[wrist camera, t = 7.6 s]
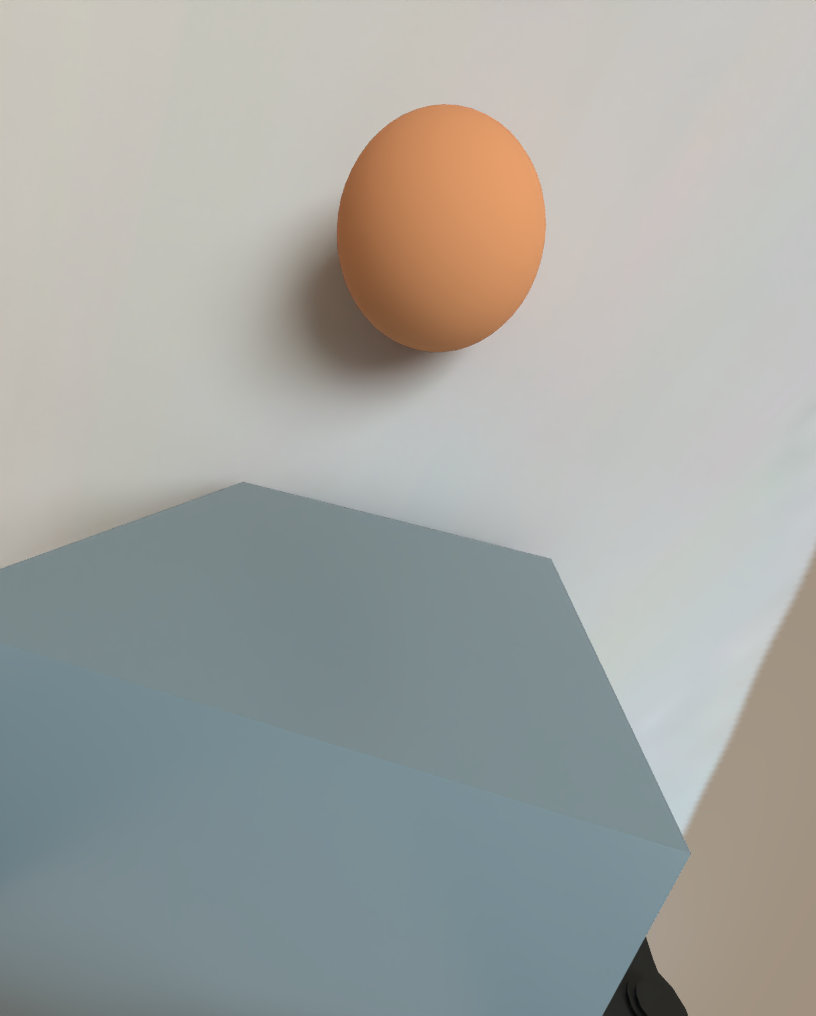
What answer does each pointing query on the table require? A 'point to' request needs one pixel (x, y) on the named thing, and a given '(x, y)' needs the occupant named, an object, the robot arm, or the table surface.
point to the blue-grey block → (313, 775)
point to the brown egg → (441, 228)
